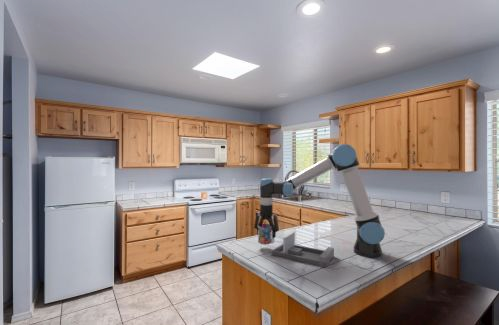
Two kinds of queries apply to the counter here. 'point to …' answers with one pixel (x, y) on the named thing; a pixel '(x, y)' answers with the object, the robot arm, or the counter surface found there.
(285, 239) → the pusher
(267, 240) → the mug
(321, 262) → the grey tray
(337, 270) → the counter surface
